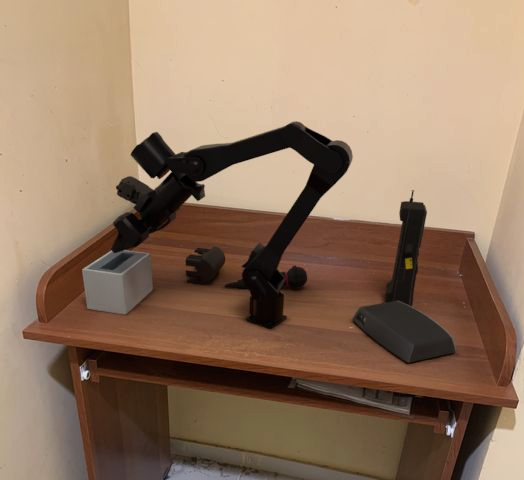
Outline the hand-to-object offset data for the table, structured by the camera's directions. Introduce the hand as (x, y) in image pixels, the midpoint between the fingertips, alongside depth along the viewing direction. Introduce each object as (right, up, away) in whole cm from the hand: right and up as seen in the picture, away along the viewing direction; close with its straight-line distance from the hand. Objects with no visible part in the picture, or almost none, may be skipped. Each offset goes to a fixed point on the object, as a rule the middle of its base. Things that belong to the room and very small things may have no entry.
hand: (123, 244), depth 111 cm
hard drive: (+58, -20, -4) cm, 62 cm away
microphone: (+31, -7, +16) cm, 36 cm away
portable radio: (+61, -12, +11) cm, 63 cm away
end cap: (+15, -4, +20) cm, 26 cm away
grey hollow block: (+2, -8, +4) cm, 9 cm away
